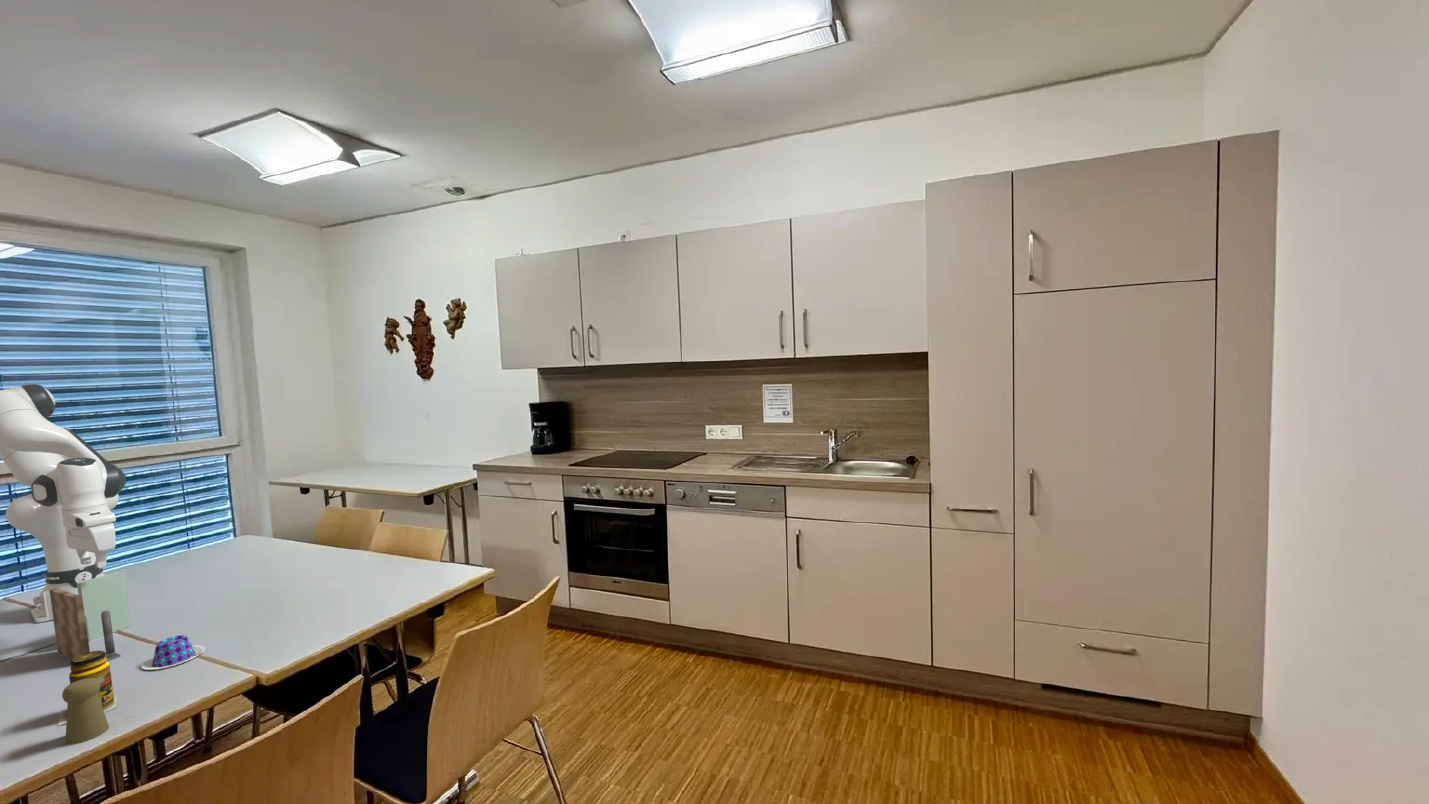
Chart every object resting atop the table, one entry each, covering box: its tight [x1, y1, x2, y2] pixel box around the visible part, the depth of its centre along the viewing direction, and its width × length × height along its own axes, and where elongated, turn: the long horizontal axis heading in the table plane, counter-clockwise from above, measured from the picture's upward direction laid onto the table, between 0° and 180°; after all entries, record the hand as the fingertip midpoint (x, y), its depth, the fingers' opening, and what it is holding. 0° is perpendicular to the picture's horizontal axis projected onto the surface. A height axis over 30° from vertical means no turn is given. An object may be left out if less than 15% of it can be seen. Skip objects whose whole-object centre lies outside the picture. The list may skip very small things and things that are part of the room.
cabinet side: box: [49, 588, 121, 662], centre depth 152 cm, size 20×5×17 cm, turn 64°
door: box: [77, 571, 132, 642], centre depth 163 cm, size 5×14×16 cm, turn 154°
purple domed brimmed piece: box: [140, 634, 206, 670], centre depth 148 cm, size 12×12×5 cm
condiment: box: [57, 650, 118, 727], centre depth 126 cm, size 7×8×12 cm
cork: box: [61, 678, 110, 745], centre depth 117 cm, size 6×6×11 cm
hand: (93, 565), depth 163 cm, fingers open, 8 cm apart
